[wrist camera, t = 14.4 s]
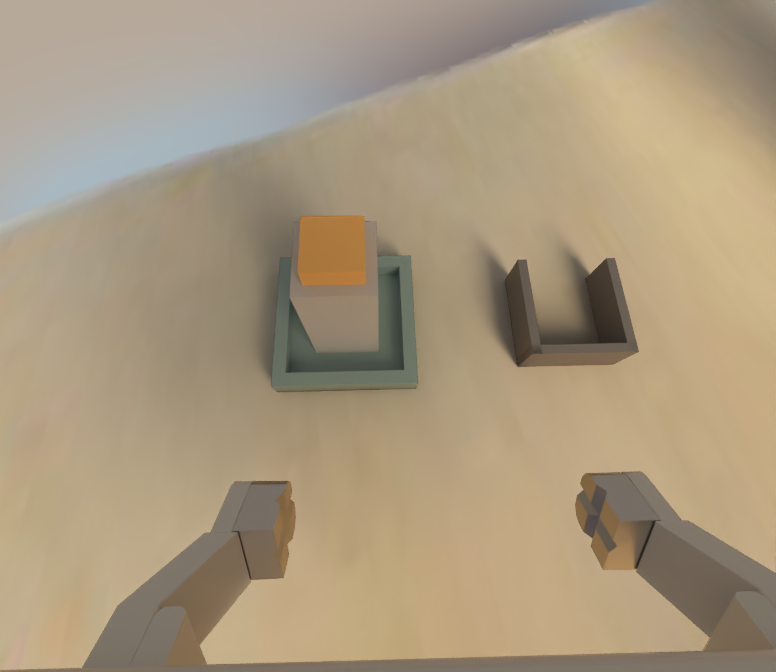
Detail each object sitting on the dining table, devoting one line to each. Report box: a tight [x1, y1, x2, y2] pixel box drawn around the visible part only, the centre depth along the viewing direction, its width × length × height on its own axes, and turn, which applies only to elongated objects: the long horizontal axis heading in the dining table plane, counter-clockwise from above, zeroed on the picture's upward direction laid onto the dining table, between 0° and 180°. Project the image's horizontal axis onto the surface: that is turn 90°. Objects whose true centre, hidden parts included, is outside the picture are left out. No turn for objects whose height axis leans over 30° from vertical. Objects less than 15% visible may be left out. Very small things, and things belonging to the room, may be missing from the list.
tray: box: [271, 256, 418, 392], centre depth 33 cm, size 11×11×2 cm
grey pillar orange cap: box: [289, 216, 379, 353], centre depth 28 cm, size 5×5×12 cm
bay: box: [505, 258, 639, 367], centre depth 33 cm, size 8×8×4 cm
